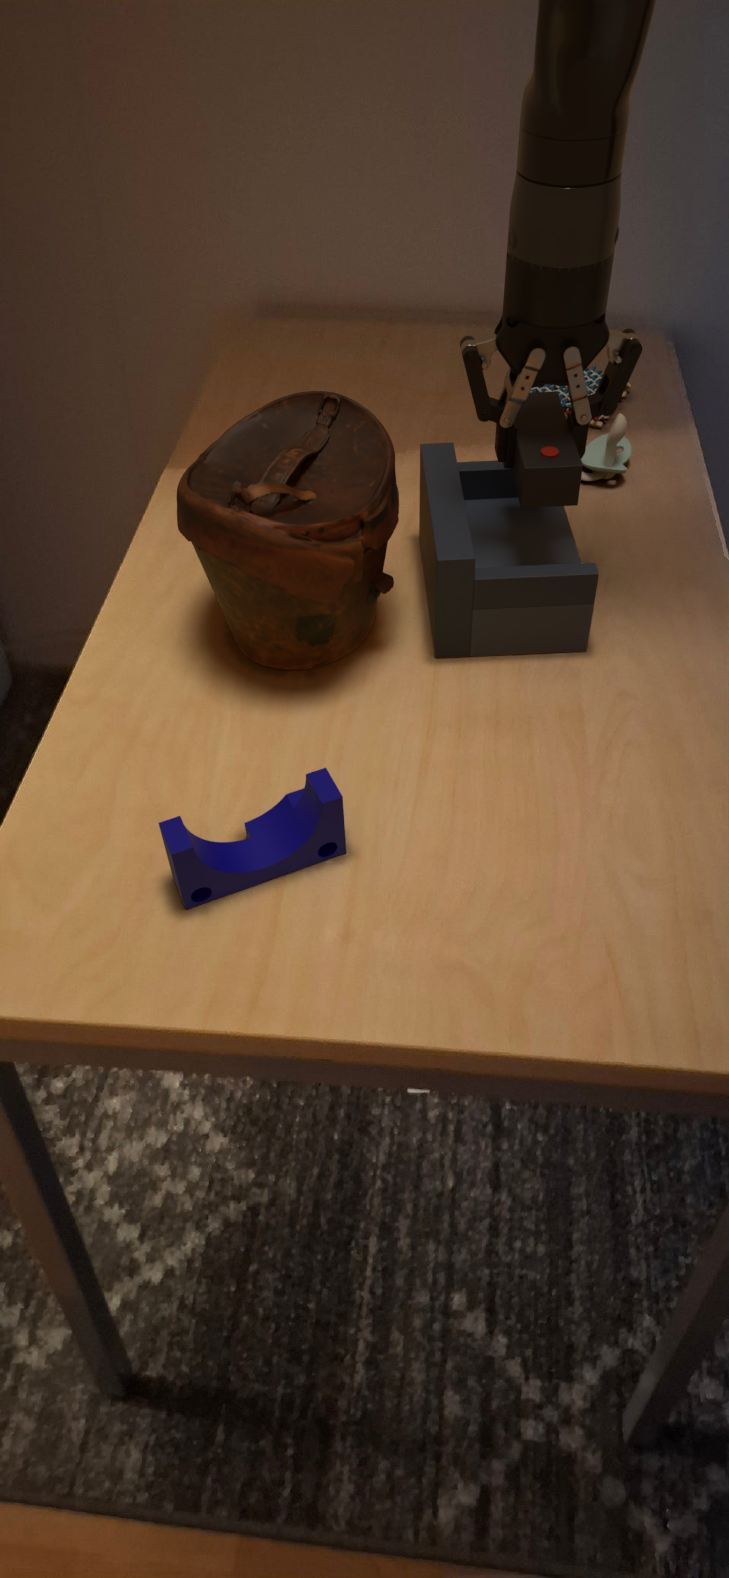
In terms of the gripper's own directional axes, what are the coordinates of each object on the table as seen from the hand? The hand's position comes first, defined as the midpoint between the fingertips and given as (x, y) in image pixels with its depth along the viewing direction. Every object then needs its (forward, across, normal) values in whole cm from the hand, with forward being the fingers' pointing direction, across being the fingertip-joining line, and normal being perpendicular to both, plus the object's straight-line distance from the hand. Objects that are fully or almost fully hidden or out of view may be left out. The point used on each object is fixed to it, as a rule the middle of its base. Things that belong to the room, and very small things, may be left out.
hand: (538, 461), depth 86 cm
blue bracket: (+13, +23, +30) cm, 40 cm away
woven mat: (+13, -10, -35) cm, 39 cm away
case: (+13, +20, +4) cm, 25 cm away
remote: (+1, 0, 0) cm, 1 cm away
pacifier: (+13, -10, -20) cm, 26 cm away
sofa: (+13, +2, 0) cm, 13 cm away
